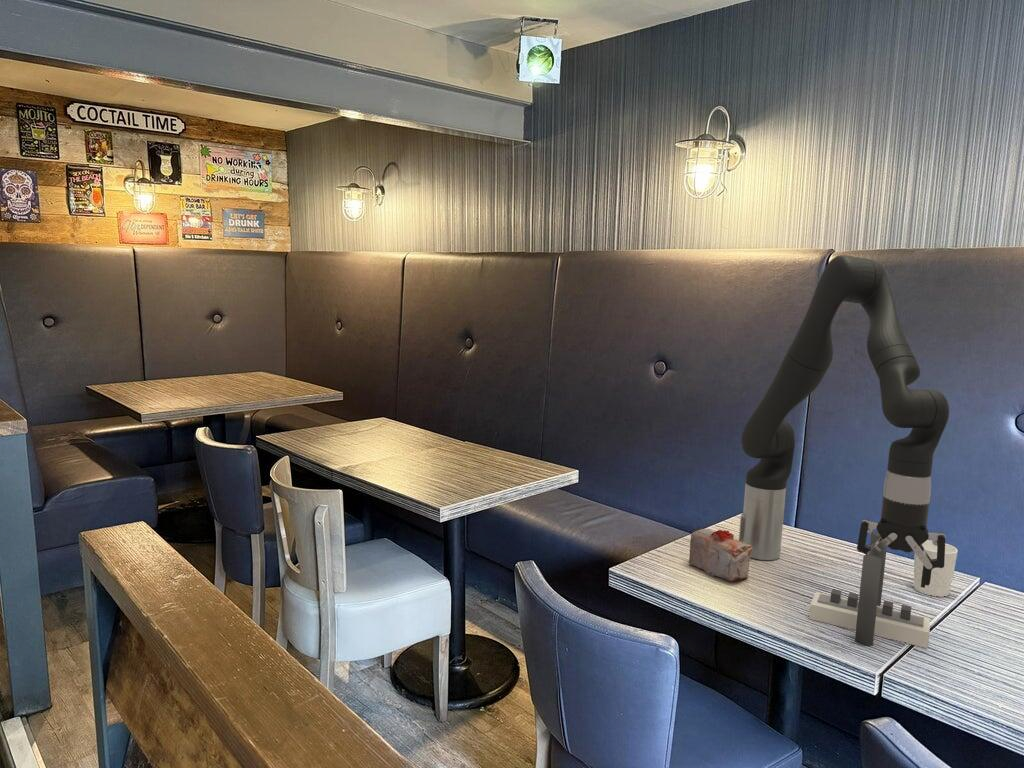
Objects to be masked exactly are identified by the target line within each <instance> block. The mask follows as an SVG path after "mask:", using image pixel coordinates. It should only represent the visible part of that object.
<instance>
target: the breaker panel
mask: <svg viewBox="0 0 1024 768" xmlns="http://www.w3.org/2000/svg"><path fill="white" fill-rule="evenodd" d="M842 591H843V590H840V589H837V588H836V589H835V588H832V590H831V593H830V594H827V593H822V592H819V591H816V592H815V594H814V595H813V598H812V601H811V603H810V606H809V616H808V620H813V621H815V622H819V623H820V622H821V623H824V624H828V625H832V626H836V627H839V628H840V627H841V628H845V629H848V630H852V631H856V623H857V613H858V604H859V593H857V594H856V593H854V592H849V593H848V596H847V598H844V597H842ZM930 623H931V618H930V617H926V616H923V615H917V614H915V613H912V606H910V605H905V604H901V608H900V610H896V609H894V602H893V601H890V600H889V601H888V600H885V599H884V600H883V604H882V606H881V607H880V606H877V611H876V620H875V630H874V636H877V637H880V638H883V639H889V640H892V639H893V641H896V640H898V641H897V642H900V641H901V642H900V643H904V642H906V643H905V644H908V643H909V645H912V646H916V647H921V648H923V649H924V648H925V649H928V646H929V639H930V629H931V628H930V626H931V624H930Z"/></svg>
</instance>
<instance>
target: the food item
mask: <svg viewBox="0 0 1024 768" xmlns="http://www.w3.org/2000/svg"><path fill="white" fill-rule="evenodd" d="M734 538H735V537H734V534H733V533H730V531H729V530H725V529H724V530H723V529H718V530H716V531H714V530H712V529H710V528H709V529H708V528H700V529H698V530H695V531H693V532H691V534H690V541H689V542H690V543H689V557H688V558H689V559H688V564H689V566H692V567H696V568H698V569H700V570H702V571H704V572H705V573H706V575H708V576H712V577H715V576H717V577H718V578H721V579H723V580H727V581H729V582H735V581H741V580H744V579H747V578H749V569H750V568H749V567H750V562H751V557H750V556H751V553H752V545H749V544H746V543H743V542H740V541H739V539H738V540H737V539H734Z"/></svg>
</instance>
